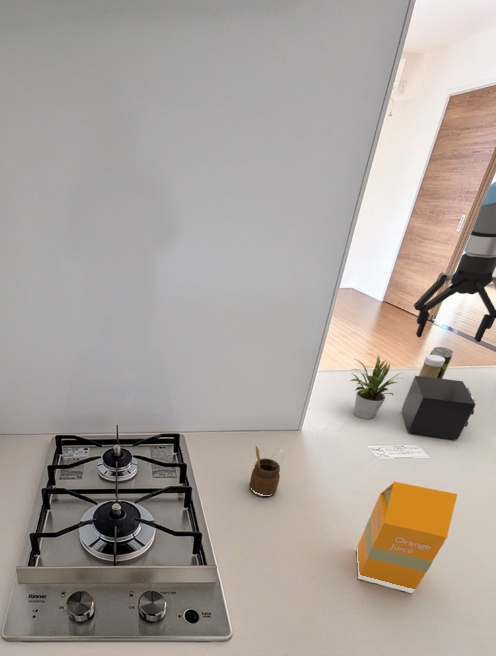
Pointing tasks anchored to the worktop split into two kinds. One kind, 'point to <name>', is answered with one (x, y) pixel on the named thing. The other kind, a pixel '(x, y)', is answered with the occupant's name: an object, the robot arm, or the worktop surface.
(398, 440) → the worktop surface
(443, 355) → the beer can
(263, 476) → the utensil holder
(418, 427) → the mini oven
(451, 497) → the orange juice
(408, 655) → the worktop surface
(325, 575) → the worktop surface
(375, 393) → the house plant
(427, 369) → the sprinkles bottle
